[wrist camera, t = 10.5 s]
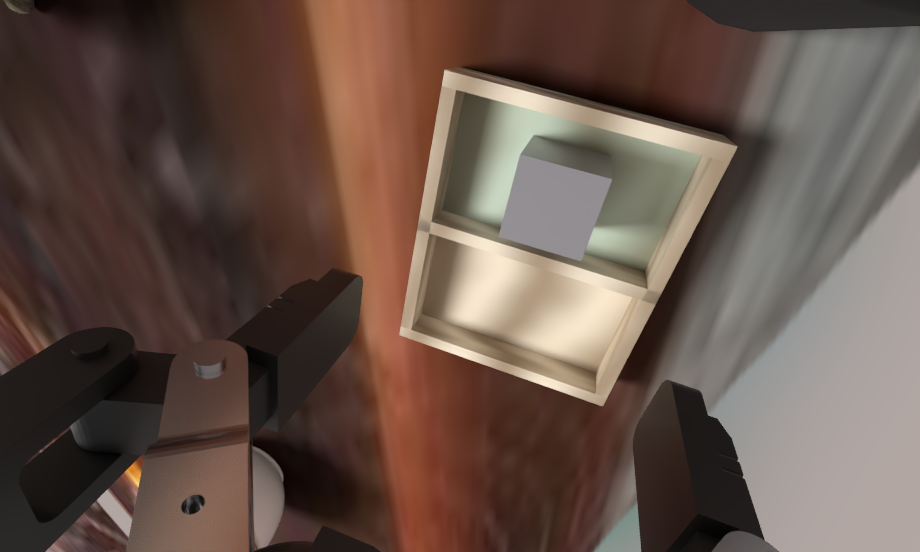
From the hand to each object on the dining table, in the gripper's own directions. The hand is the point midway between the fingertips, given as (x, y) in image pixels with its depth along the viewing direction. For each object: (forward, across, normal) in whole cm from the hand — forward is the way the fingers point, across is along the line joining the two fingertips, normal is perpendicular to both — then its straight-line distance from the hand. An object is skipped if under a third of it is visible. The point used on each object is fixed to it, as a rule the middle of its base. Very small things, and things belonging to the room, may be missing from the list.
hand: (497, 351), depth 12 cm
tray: (+18, 0, +5) cm, 19 cm away
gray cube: (+18, 0, 0) cm, 18 cm away
